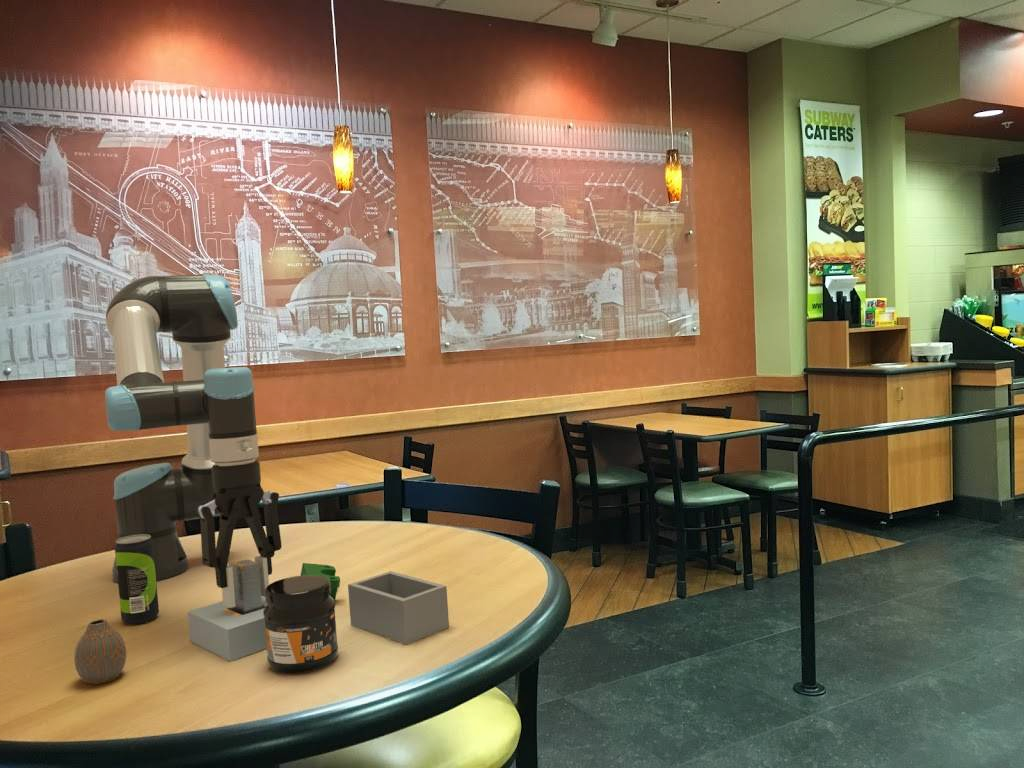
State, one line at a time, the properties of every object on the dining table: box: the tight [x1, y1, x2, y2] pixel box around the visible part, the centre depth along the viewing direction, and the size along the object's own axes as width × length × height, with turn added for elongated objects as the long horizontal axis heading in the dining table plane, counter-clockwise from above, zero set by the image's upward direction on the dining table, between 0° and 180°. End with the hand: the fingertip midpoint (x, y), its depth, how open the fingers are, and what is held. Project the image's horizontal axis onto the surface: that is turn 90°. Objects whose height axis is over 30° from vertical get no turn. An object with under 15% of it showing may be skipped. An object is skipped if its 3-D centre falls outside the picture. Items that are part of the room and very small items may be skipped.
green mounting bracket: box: [300, 562, 341, 602], centre depth 153 cm, size 12×6×9 cm, turn 14°
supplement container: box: [263, 575, 339, 675], centre depth 123 cm, size 10×10×12 cm
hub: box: [187, 596, 267, 662], centre depth 135 cm, size 14×14×5 cm
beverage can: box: [114, 534, 160, 626], centre depth 147 cm, size 6×6×15 cm
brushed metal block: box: [228, 558, 262, 615], centre depth 135 cm, size 4×3×12 cm
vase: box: [73, 618, 127, 685], centre depth 121 cm, size 7×7×9 cm
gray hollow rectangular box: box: [347, 570, 450, 646], centre depth 136 cm, size 15×9×7 cm, turn 46°
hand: (246, 600), depth 135 cm, fingers open, 5 cm apart
